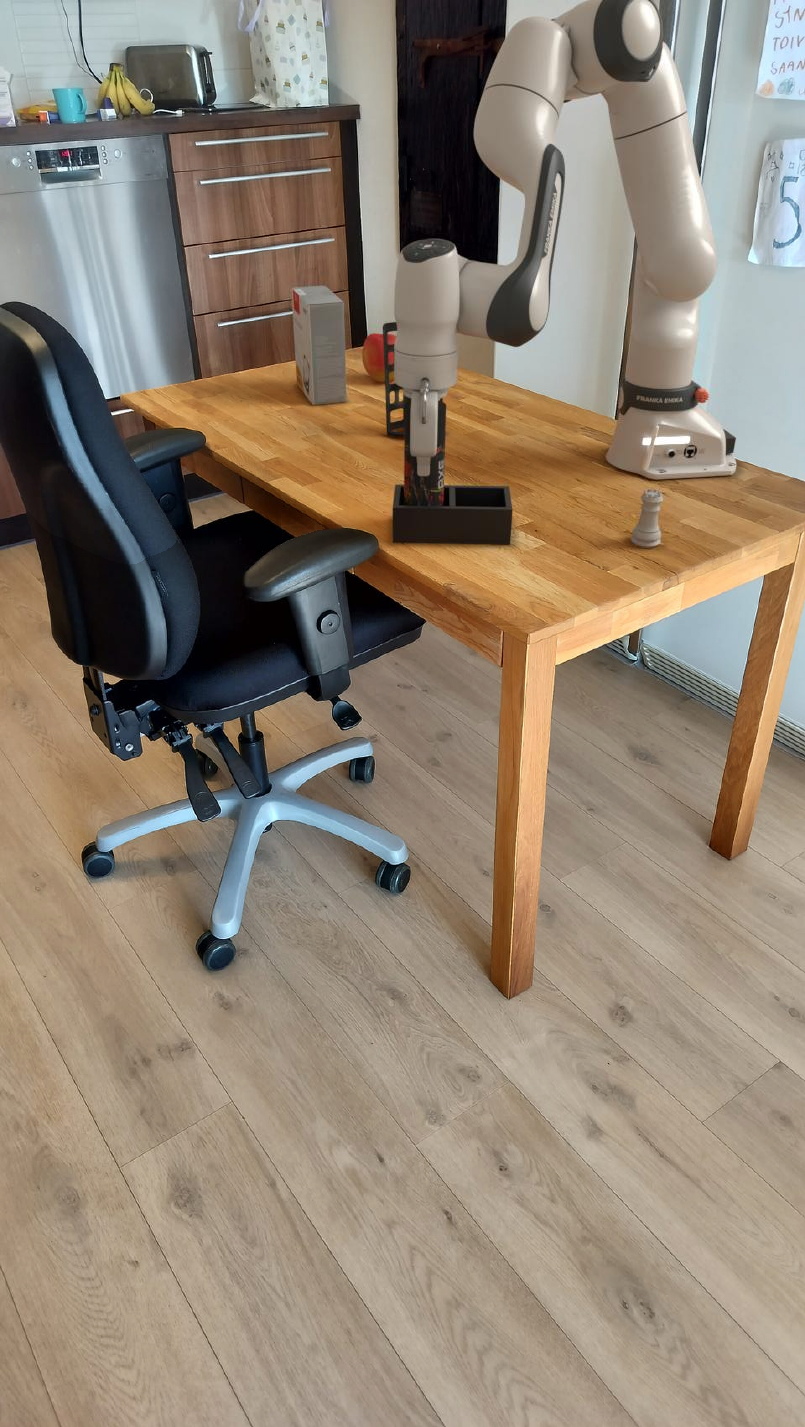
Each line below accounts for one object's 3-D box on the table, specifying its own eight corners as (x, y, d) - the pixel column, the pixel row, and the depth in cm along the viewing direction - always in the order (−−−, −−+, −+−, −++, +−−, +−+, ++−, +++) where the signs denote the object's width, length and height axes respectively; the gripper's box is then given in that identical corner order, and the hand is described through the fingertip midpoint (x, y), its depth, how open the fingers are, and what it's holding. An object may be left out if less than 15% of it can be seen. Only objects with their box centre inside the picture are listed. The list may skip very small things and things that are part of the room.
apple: (375, 389, 213) (374, 341, 207) (355, 378, 220) (354, 331, 214) (414, 383, 217) (415, 335, 211) (393, 372, 224) (393, 326, 218)
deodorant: (439, 514, 147) (442, 413, 138) (400, 510, 148) (400, 410, 139) (446, 498, 152) (449, 400, 143) (408, 495, 153) (409, 397, 144)
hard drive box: (295, 385, 215) (290, 286, 204) (330, 382, 217) (326, 284, 206) (312, 406, 203) (307, 302, 192) (348, 402, 205) (345, 300, 194)
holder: (390, 440, 185) (388, 326, 175) (380, 432, 191) (378, 321, 182) (447, 436, 187) (448, 323, 178) (435, 428, 194) (435, 318, 184)
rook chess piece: (656, 536, 150) (664, 485, 146) (663, 548, 147) (672, 497, 142) (627, 536, 150) (634, 486, 146) (633, 549, 147) (641, 497, 142)
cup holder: (395, 518, 156) (395, 484, 153) (506, 520, 155) (509, 486, 152) (392, 543, 148) (392, 507, 145) (510, 545, 148) (512, 509, 145)
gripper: (448, 392, 130) (445, 492, 138) (448, 351, 147) (445, 442, 154) (400, 391, 130) (399, 491, 138) (405, 350, 147) (405, 441, 155)
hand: (424, 465), depth 146 cm, fingers closed on deodorant, 6 cm apart
